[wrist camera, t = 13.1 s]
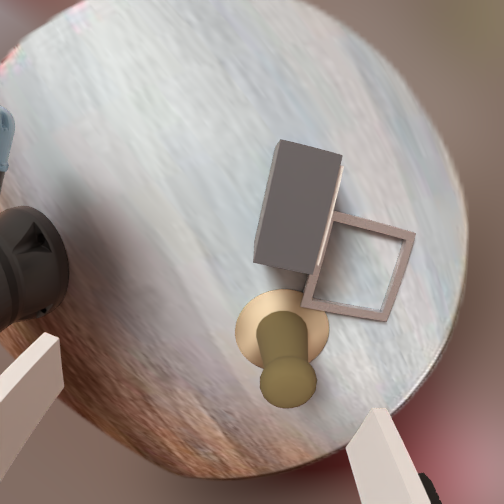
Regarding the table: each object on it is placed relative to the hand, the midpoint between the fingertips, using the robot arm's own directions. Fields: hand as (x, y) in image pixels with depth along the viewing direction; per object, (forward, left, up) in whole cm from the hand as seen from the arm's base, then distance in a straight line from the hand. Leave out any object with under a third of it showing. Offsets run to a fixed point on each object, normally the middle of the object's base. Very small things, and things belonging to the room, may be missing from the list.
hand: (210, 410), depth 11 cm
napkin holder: (+4, +7, -23) cm, 25 cm away
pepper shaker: (+6, -8, -23) cm, 25 cm away
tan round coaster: (+7, -8, -23) cm, 26 cm away
